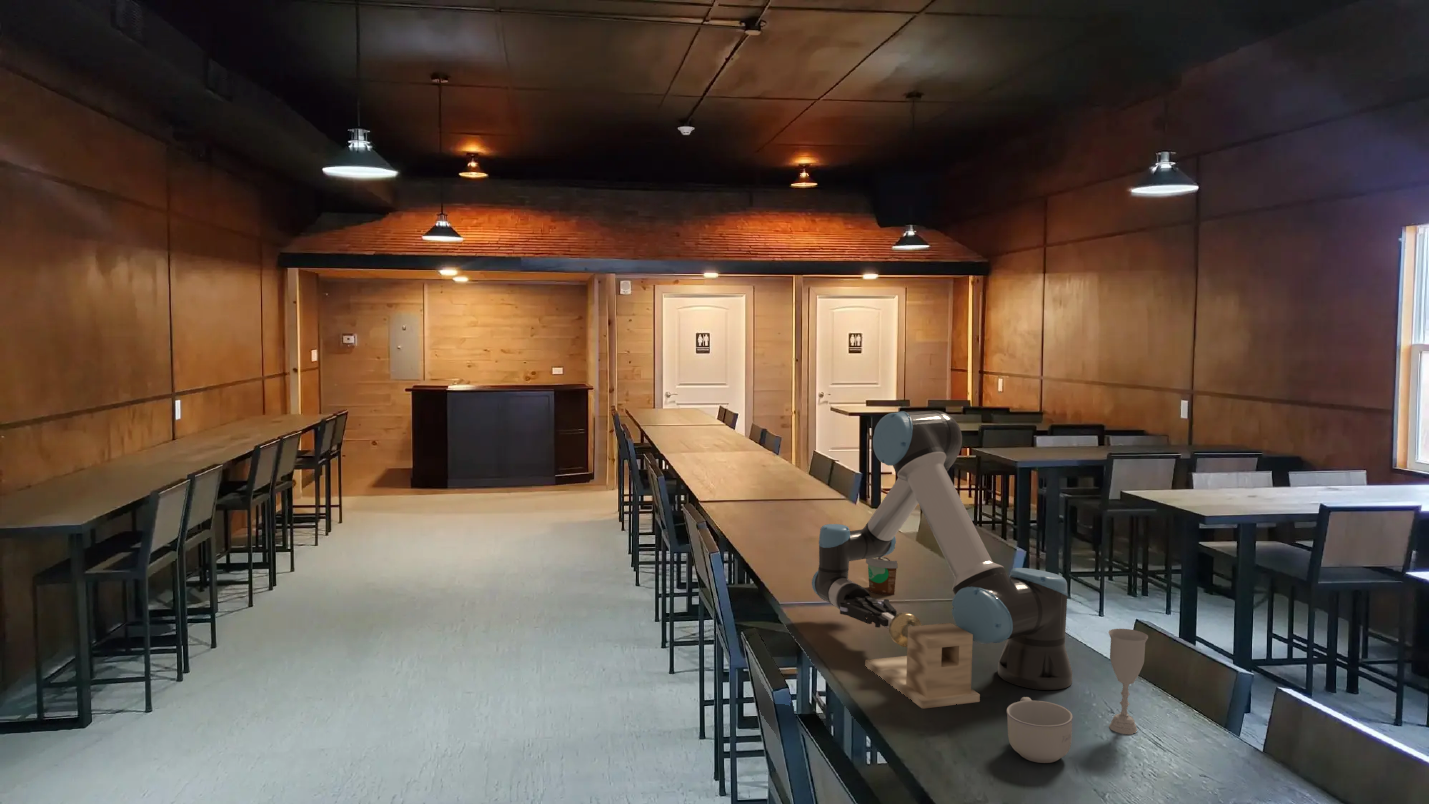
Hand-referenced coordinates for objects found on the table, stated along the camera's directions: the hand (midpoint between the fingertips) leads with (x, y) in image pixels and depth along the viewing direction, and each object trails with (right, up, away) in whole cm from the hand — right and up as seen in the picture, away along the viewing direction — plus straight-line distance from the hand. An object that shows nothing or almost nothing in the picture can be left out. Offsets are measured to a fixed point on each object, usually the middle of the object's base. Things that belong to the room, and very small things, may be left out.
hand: (898, 627), depth 203 cm
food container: (+6, -5, +64) cm, 64 cm away
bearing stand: (+3, -10, -6) cm, 12 cm away
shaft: (+3, -4, -6) cm, 8 cm away
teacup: (+17, -13, -39) cm, 44 cm away
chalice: (+36, -12, -28) cm, 48 cm away
